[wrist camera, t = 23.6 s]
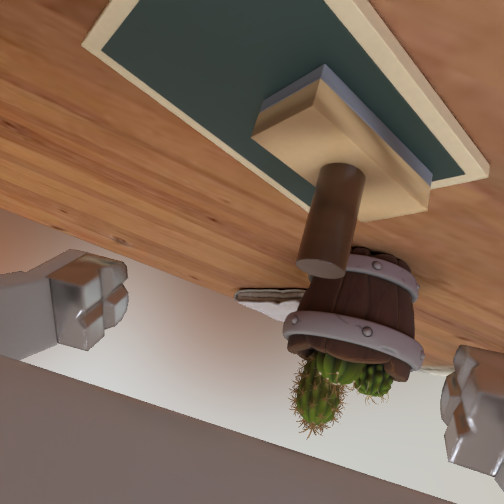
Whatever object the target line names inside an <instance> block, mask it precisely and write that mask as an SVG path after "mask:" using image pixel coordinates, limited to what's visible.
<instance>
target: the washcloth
mask: <svg viewBox="0 0 504 504" xmlns="http://www.w3.org/2000/svg"><path fill="white" fill-rule="evenodd" d="M305 291H306V290H299V289H291V290H282V291H281V290H273V289H264V290H255V289H254V290H250V289H249V290H240V291H237V292H236V293H235V295H234V300H235V301H237V302H238V303H240V304H242V305H244V306H247V307H248V308H251V309H254V310H257V311H259V312H261V313H263V314H266V315H267V316H269V317H271V318H273V319H275V320H278V321H285V319H286V317H287V315H288V314H290V313H292V312H295V311H297V308H298V306H299V303H300V301H301V299H302V297H303V295H304V293H305Z"/></svg>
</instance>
